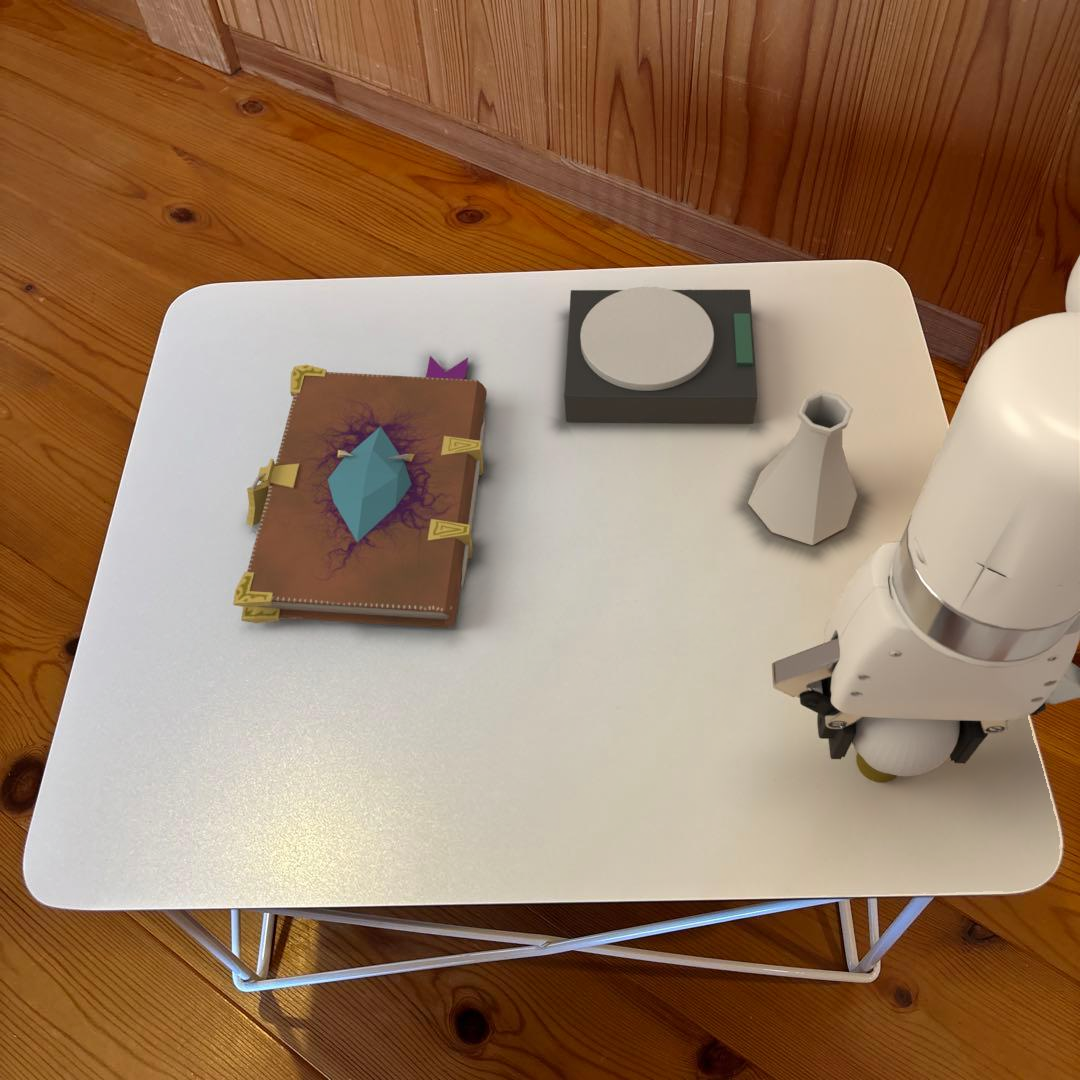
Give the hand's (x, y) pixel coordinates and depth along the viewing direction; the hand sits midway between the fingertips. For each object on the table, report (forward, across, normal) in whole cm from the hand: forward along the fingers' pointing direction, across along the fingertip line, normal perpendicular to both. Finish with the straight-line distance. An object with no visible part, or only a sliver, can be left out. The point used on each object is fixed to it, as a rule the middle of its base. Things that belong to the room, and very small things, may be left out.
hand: (893, 735), depth 59 cm
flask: (+5, +3, -20) cm, 20 cm away
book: (+5, +34, -20) cm, 40 cm away
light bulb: (+5, 0, 0) cm, 5 cm away
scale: (+5, +13, -32) cm, 35 cm away
